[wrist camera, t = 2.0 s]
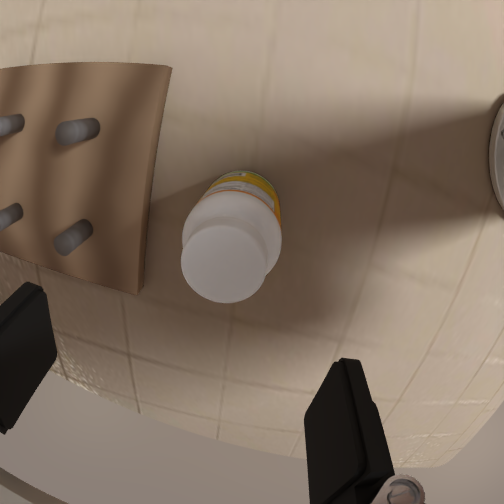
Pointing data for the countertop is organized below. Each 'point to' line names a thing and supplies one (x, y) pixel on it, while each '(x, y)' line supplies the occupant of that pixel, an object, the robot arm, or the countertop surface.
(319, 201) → the countertop surface
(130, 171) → the peg cradle
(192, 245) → the supplement bottle
